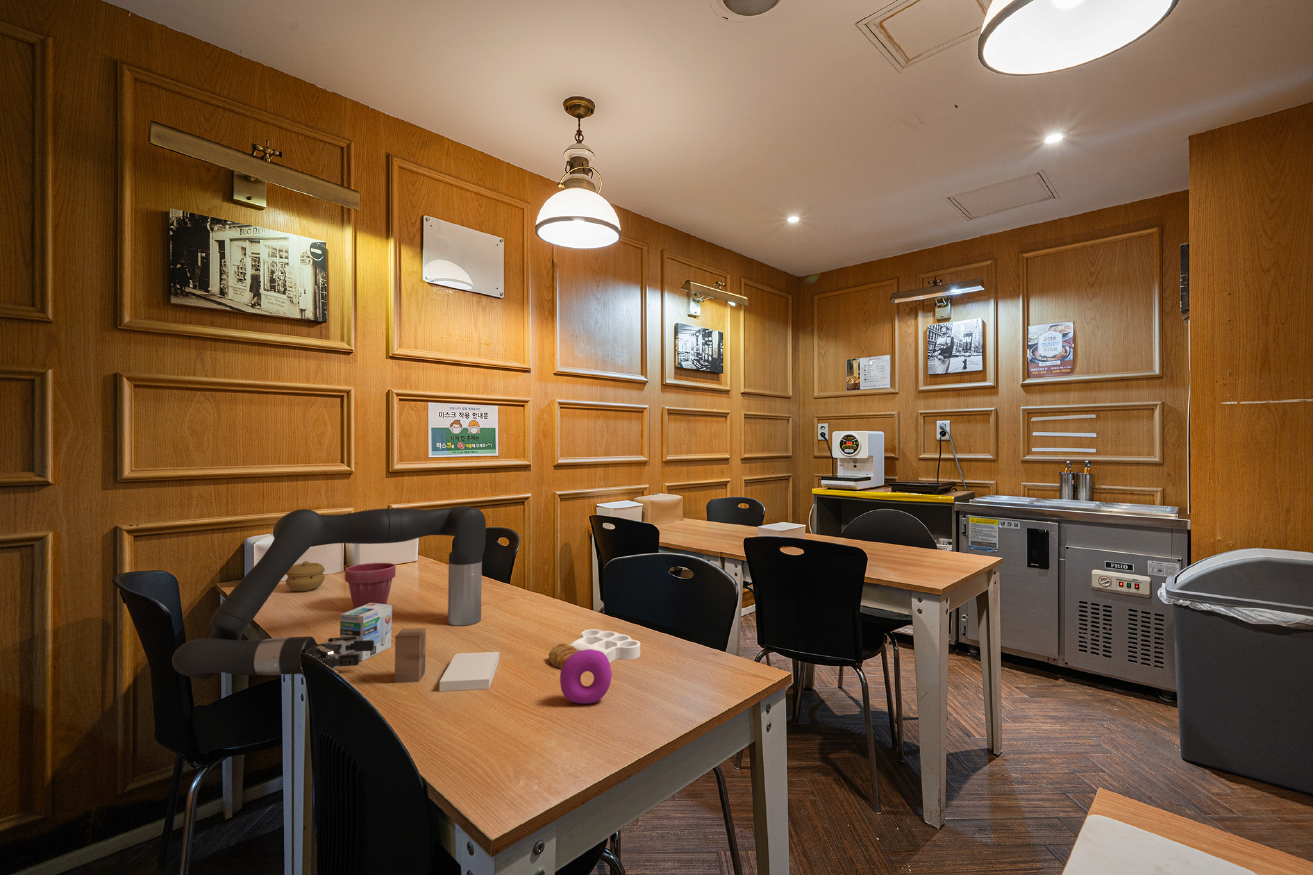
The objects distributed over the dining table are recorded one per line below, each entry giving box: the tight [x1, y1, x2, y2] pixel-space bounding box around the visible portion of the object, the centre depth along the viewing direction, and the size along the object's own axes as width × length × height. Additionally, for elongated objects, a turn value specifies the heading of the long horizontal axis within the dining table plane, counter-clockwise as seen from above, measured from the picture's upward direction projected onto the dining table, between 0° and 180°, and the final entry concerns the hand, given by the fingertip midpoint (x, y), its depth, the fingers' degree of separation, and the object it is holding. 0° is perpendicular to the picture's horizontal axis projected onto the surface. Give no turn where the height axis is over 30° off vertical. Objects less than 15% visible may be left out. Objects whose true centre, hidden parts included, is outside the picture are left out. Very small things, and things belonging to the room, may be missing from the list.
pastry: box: [548, 643, 578, 670], centre depth 132 cm, size 9×7×4 cm
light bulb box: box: [339, 603, 393, 662], centre depth 138 cm, size 11×7×11 cm, turn 168°
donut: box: [559, 649, 613, 704], centre depth 113 cm, size 8×9×10 cm
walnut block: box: [394, 627, 427, 684], centre depth 124 cm, size 5×5×10 cm
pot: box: [285, 560, 326, 592], centre depth 197 cm, size 12×12×10 cm
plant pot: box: [344, 562, 397, 609], centre depth 177 cm, size 14×14×13 cm
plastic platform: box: [439, 651, 500, 692], centre depth 125 cm, size 16×10×2 cm, turn 8°
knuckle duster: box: [568, 628, 641, 663], centre depth 141 cm, size 3×18×15 cm
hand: (366, 652), depth 122 cm, fingers open, 8 cm apart
